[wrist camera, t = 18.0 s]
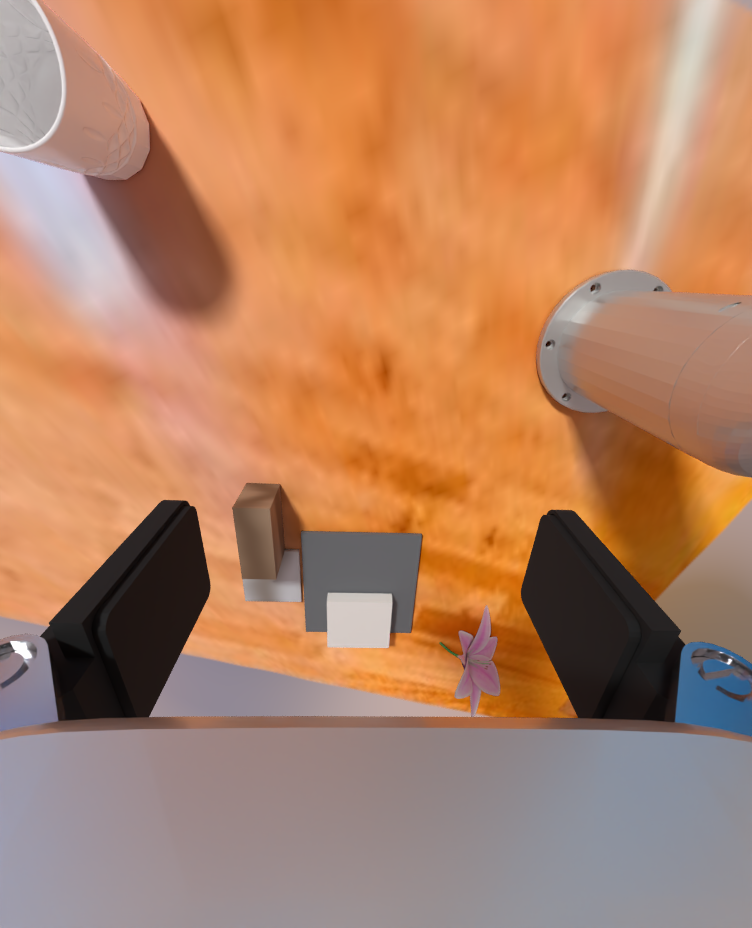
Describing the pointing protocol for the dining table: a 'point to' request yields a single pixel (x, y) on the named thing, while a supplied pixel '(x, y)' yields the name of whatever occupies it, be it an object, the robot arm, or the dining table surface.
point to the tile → (359, 620)
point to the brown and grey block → (265, 546)
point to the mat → (360, 572)
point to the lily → (477, 664)
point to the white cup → (65, 98)
